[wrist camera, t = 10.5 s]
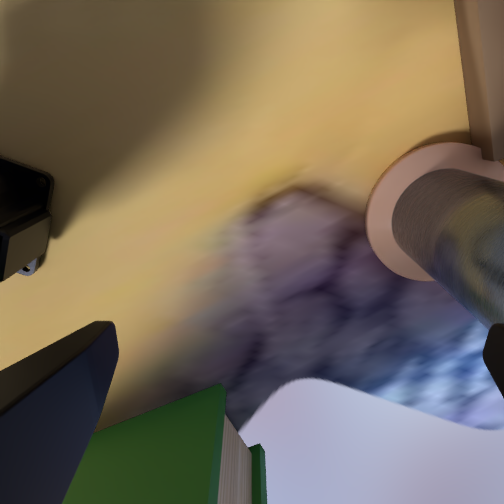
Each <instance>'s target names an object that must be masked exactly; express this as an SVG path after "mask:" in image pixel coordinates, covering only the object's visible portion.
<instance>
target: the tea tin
mask: <svg viewBox="0 0 504 504" xmlns="http://www.w3.org/2000/svg"><path fill="white" fill-rule="evenodd" d="M391 226H392V233H393V236H394V239H395V241H396V243H397V244H398V246H399V247H400V248H401V250H402V251H403V252H405V253H406V254H407V255H408V256H409V257H410V258H411V259H412V260H413V261H414V262H415V263H416V264H418V265H419V266H420V267H421V268H422V269H423V270H424V271H425V272H426V273H427V274H428V275H430V276H431V277H432V278H433V279H434V280H435V281H436V282H437V283H438V284H439V285H440V286H442V287H443V288H444V289H445V290H446V291H447V292H448V293H449V294H450V295H451V296H452V297H454V298H455V299H456V300H457V301H458V302H459V303H460V304H461V305H462V306H463V307H464V308H466V309H467V310H468V311H469V312H470V313H471V314H472V315H473V316H474V317H475V318H476V319H477V320H479V321H480V322H481V323H482V324H483V325H484V326H485V327H486V328H487V329H488V330H489V329H490V327H491V326H492V325H493V324H495V323H504V182H503V181H499V180H496V179H492V178H489V177H485V176H481V175H478V174H474V173H471V172H467V171H463V170H460V169H453V168H446V169H439V170H435V171H432V172H429V173H427V174H425V175H423V176H421V177H419V178H418V179H416V180H415V181H414V182H412V183H411V184H410V185H409V186H408V187H407V188H406V189H405V190H404V191H403V193H402V194H401V196H400V197H399V199H398V201H397V203H396V205H395V207H394V210H393V214H392V223H391Z"/></svg>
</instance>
